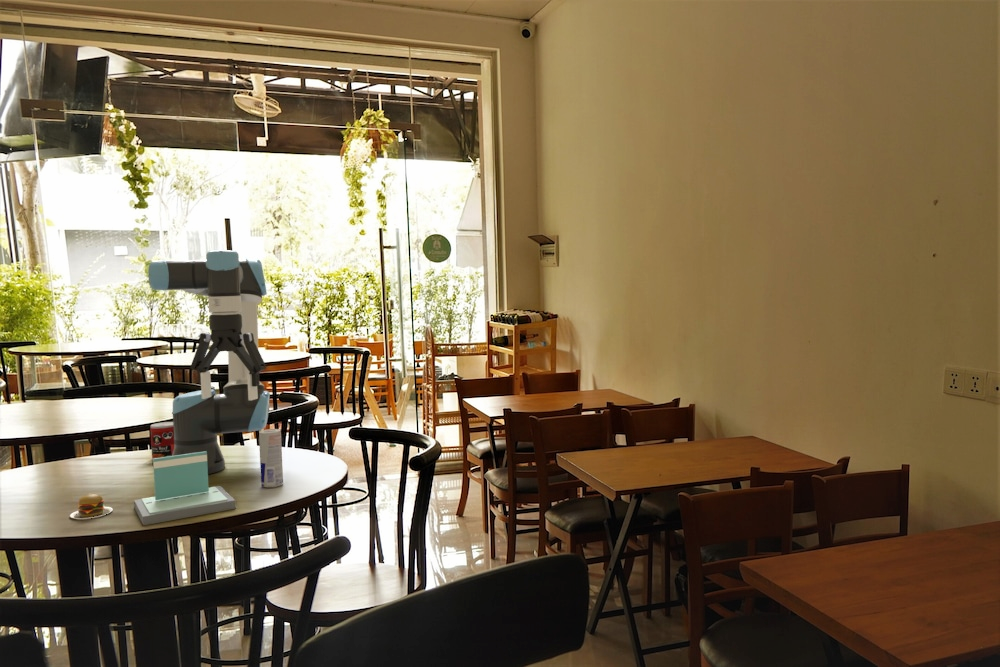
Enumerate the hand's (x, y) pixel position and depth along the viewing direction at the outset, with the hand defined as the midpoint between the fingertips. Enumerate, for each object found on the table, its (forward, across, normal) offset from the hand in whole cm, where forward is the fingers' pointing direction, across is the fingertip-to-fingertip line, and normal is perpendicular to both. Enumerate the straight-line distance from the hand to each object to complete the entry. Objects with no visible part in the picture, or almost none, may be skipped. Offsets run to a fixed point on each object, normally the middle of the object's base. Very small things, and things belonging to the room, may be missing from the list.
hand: (229, 398), depth 176 cm
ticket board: (+25, -7, -10) cm, 28 cm away
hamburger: (+26, -26, -18) cm, 41 cm away
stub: (+23, -8, -8) cm, 26 cm away
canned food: (+27, -51, +34) cm, 67 cm away
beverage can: (+26, +2, +13) cm, 29 cm away
